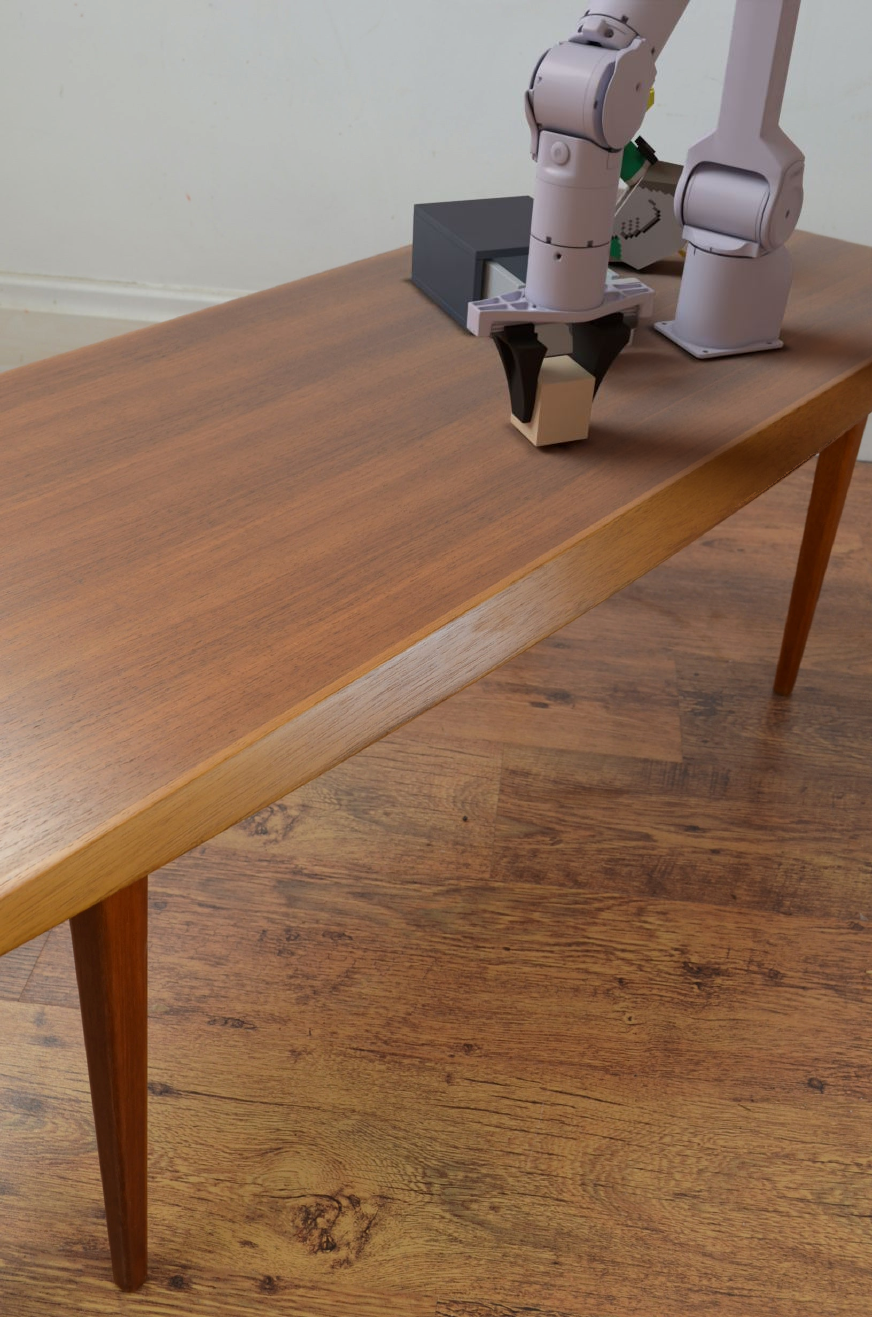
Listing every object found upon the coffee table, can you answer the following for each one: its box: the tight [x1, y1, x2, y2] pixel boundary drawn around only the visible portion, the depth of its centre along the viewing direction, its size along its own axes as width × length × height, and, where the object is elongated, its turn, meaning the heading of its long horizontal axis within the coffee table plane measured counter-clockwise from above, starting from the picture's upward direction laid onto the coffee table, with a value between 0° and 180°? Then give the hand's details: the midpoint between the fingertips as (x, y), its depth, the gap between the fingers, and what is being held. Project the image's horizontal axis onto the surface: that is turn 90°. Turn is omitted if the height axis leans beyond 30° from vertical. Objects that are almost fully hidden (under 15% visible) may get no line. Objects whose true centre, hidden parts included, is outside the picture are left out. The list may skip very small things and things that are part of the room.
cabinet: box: [410, 195, 534, 335], centre depth 111 cm, size 15×13×8 cm
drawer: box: [480, 255, 642, 357], centre depth 103 cm, size 18×11×6 cm, turn 23°
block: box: [510, 354, 595, 447], centre depth 89 cm, size 4×4×5 cm
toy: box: [608, 86, 689, 270], centre depth 120 cm, size 6×17×20 cm
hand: (550, 413), depth 89 cm, fingers closed on block, 4 cm apart
